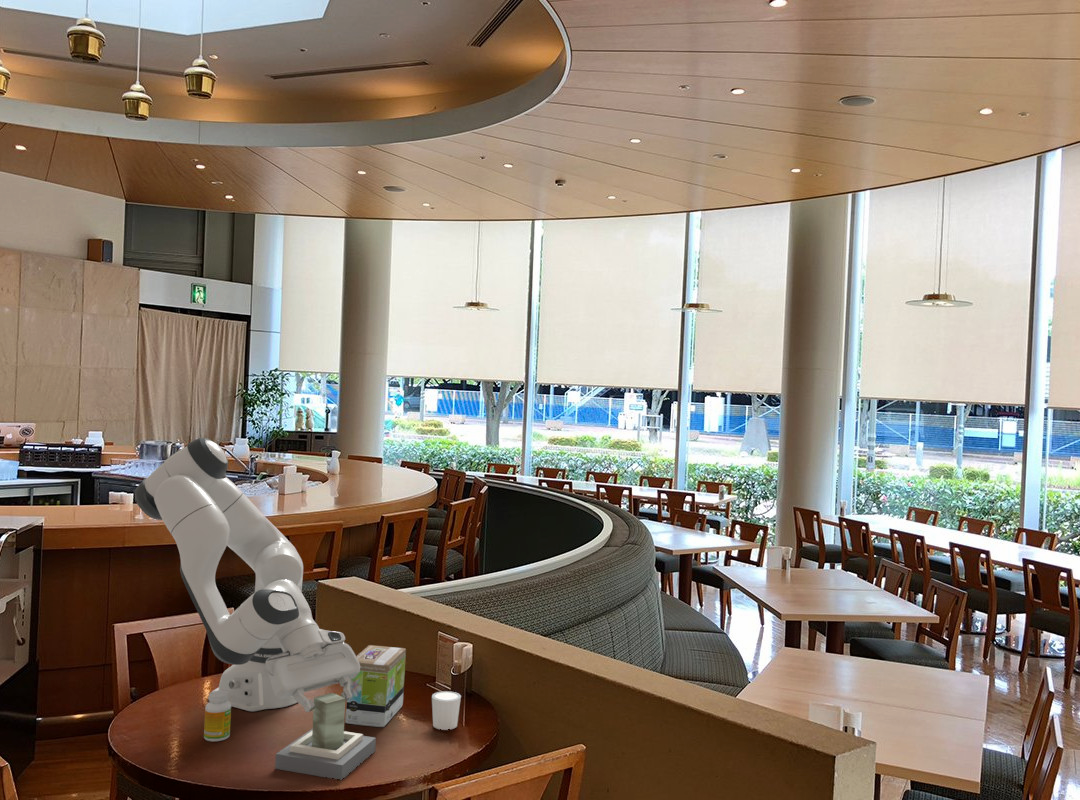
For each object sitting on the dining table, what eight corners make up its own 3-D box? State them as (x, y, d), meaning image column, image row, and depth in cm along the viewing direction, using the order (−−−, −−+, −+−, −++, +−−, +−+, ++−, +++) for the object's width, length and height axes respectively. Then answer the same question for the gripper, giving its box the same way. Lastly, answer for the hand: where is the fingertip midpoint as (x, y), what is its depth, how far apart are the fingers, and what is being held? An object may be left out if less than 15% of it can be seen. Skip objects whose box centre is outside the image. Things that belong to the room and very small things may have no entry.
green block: (311, 745, 182) (313, 697, 182) (330, 739, 185) (332, 692, 185) (324, 751, 179) (326, 703, 179) (343, 745, 182) (345, 698, 182)
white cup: (454, 732, 200) (456, 702, 200) (426, 728, 201) (427, 698, 201) (463, 721, 206) (464, 692, 206) (435, 718, 208) (437, 689, 208)
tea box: (386, 728, 200) (388, 664, 200) (344, 724, 202) (346, 661, 202) (404, 706, 215) (406, 646, 215) (365, 702, 217) (367, 643, 217)
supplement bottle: (227, 741, 189) (229, 697, 189) (201, 742, 188) (203, 697, 188) (231, 732, 194) (233, 689, 194) (206, 732, 193) (208, 689, 193)
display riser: (275, 768, 177) (275, 748, 177) (313, 741, 191) (313, 722, 191) (341, 780, 173) (342, 759, 173) (375, 751, 187) (376, 732, 187)
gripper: (268, 649, 179) (293, 708, 173) (349, 631, 195) (375, 685, 189) (255, 665, 182) (280, 725, 176) (336, 647, 198) (361, 700, 192)
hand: (329, 704), depth 182 cm, fingers open, 8 cm apart
